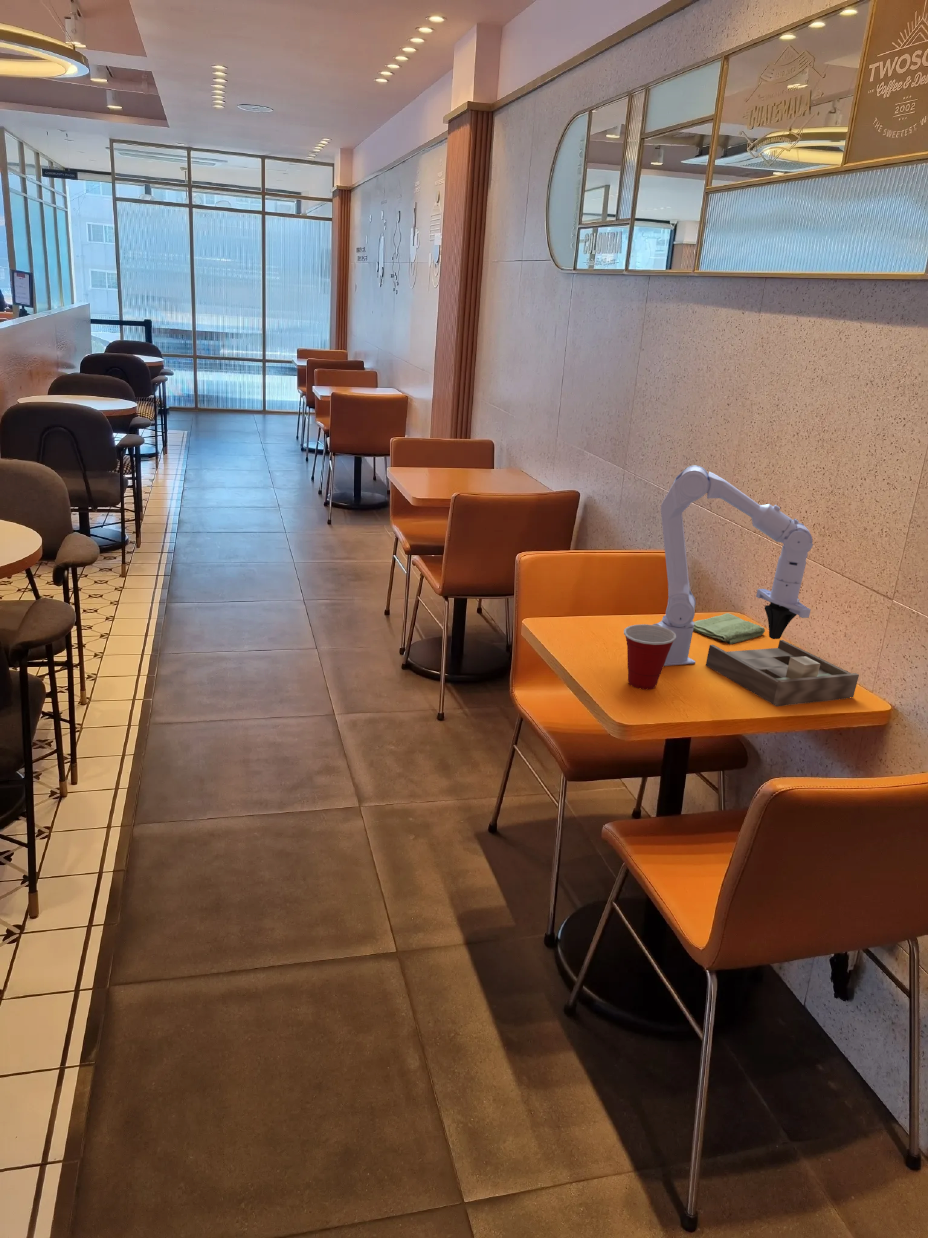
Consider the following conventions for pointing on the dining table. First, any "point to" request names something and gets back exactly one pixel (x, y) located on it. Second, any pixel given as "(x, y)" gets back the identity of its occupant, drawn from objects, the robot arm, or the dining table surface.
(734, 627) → the washcloth
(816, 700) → the trap box
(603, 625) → the dining table surface
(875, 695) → the dining table surface
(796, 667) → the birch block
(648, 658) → the plastic cup
